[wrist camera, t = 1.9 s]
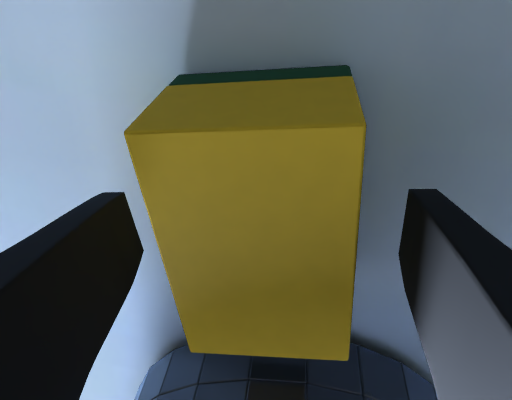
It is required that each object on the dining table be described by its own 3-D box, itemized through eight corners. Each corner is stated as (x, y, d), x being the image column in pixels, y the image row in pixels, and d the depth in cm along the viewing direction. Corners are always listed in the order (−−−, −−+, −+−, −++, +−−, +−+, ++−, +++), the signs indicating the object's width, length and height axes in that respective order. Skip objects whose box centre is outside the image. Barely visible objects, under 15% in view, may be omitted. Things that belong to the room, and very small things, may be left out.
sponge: (177, 73, 10) (121, 131, 7) (350, 63, 9) (366, 123, 6) (215, 264, 14) (189, 353, 11) (340, 266, 13) (348, 361, 10)
